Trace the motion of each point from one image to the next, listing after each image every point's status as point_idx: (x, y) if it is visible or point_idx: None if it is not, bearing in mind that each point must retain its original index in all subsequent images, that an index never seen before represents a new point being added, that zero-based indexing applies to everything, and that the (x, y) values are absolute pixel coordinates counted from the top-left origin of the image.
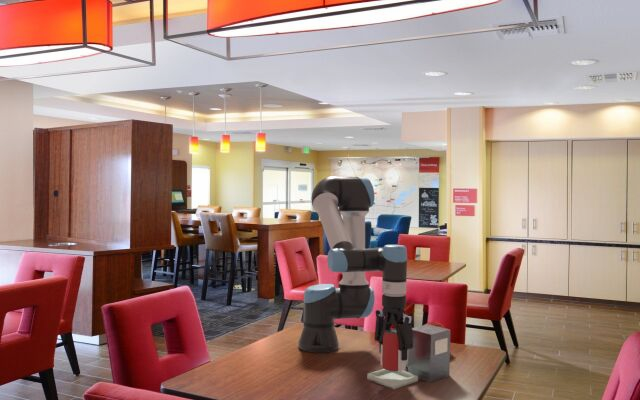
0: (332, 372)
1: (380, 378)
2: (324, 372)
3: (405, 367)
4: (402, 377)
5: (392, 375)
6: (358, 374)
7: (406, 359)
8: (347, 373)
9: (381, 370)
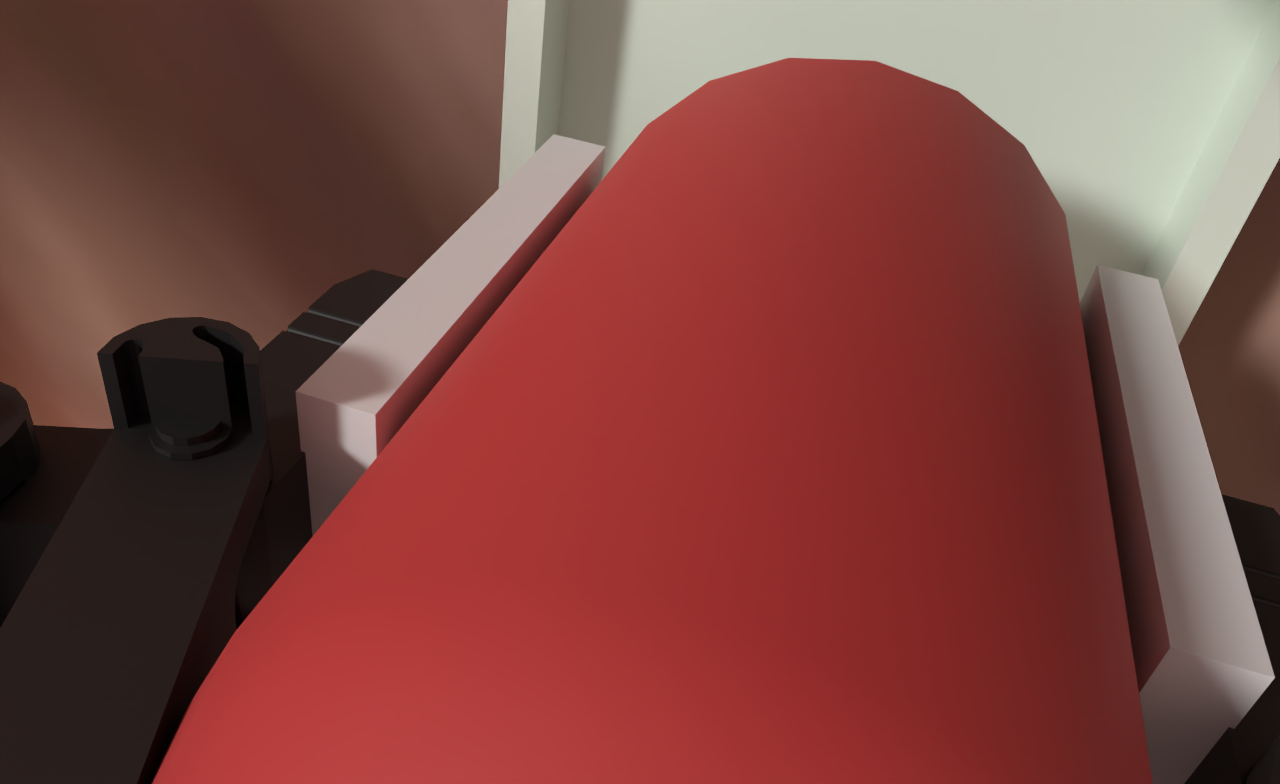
0: (76, 369)
1: None
2: (39, 415)
3: (1165, 312)
4: (985, 9)
5: (756, 39)
6: (299, 248)
7: (1272, 538)
8: (191, 299)
9: (537, 131)
